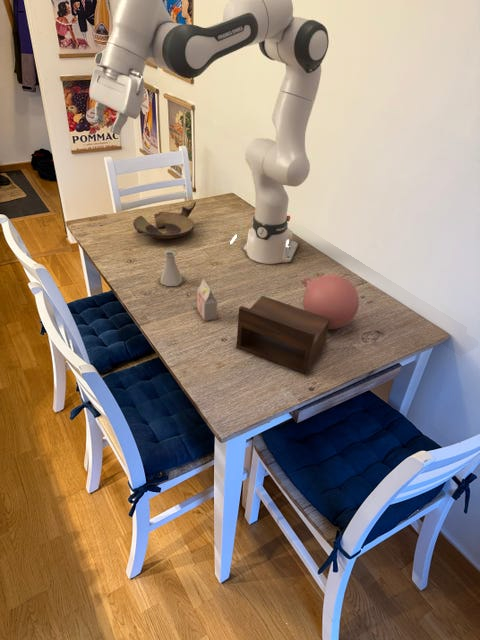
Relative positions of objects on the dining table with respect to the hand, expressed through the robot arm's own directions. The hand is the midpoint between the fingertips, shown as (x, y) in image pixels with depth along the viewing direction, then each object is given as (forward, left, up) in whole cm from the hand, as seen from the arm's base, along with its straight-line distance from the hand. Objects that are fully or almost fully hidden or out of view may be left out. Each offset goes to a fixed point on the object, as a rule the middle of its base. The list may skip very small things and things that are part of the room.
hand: (106, 128), depth 102 cm
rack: (-6, +49, -49) cm, 69 cm away
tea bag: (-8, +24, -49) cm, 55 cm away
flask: (-17, +5, -49) cm, 52 cm away
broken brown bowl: (-46, -16, -49) cm, 69 cm away
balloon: (-24, +54, -49) cm, 76 cm away
